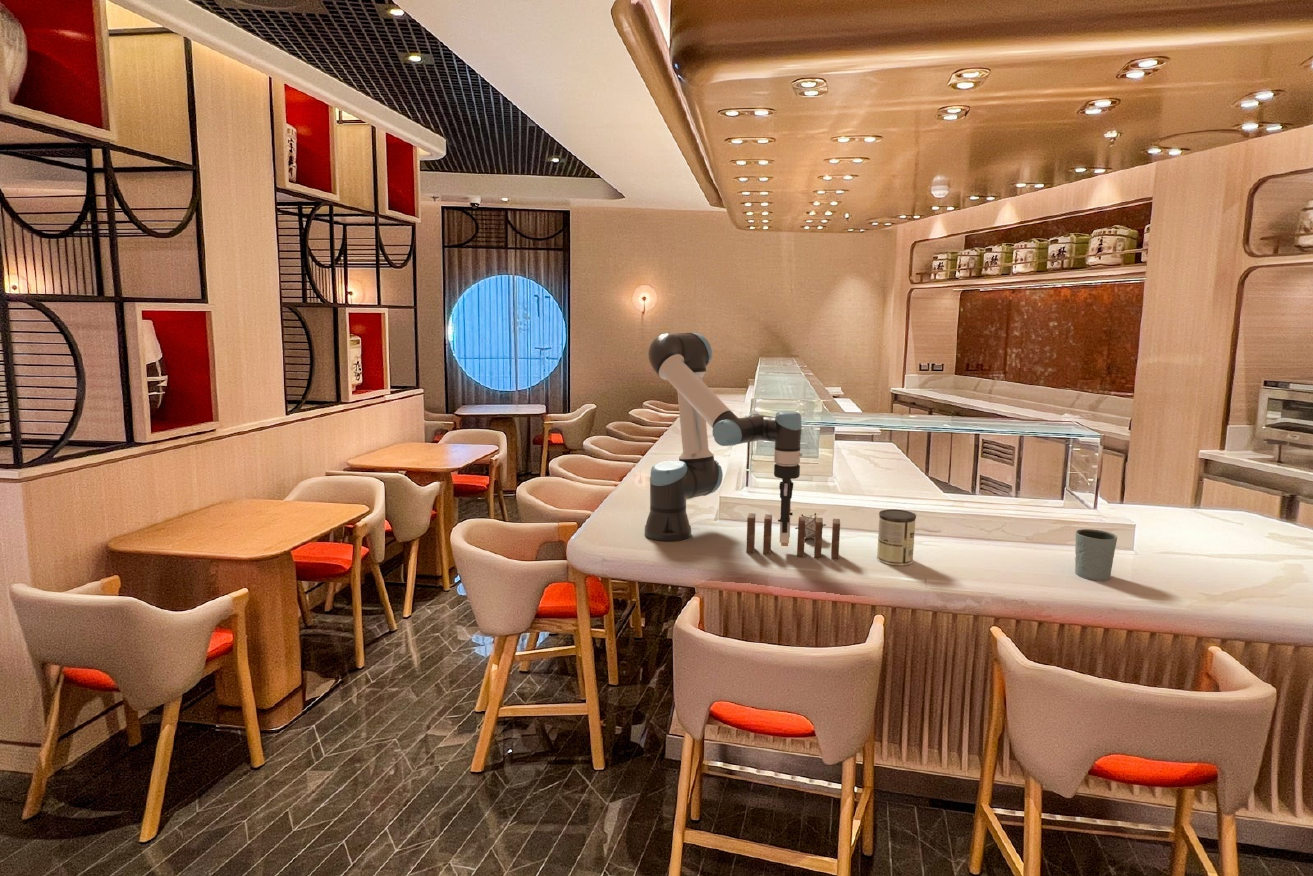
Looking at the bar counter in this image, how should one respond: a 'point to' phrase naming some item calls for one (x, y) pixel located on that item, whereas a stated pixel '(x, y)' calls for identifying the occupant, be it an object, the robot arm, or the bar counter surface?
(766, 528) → the domino
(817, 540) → the domino
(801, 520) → the domino
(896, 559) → the coffee can
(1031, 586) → the bar counter surface
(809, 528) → the game die
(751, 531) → the domino
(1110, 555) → the grey green cup
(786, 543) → the domino
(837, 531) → the domino
